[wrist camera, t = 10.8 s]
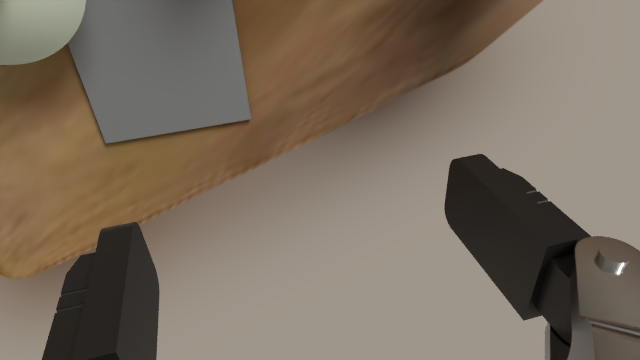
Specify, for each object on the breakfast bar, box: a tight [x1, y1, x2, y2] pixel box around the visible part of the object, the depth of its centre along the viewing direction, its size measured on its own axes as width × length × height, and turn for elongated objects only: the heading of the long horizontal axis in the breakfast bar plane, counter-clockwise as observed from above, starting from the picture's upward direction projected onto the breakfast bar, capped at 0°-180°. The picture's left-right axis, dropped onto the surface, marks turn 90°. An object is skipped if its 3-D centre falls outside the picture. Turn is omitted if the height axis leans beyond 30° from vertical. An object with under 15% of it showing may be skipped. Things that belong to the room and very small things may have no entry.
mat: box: [68, 0, 251, 144], centre depth 40 cm, size 14×14×1 cm
